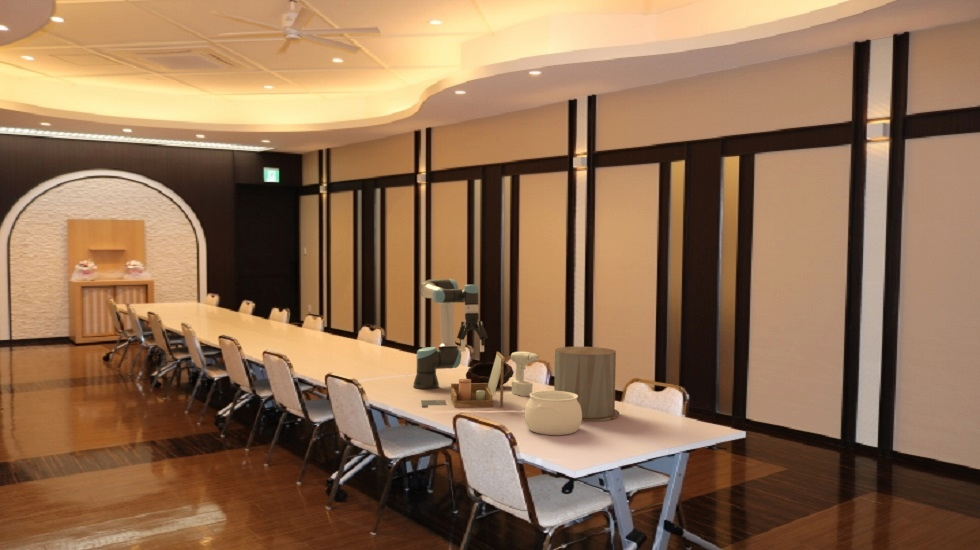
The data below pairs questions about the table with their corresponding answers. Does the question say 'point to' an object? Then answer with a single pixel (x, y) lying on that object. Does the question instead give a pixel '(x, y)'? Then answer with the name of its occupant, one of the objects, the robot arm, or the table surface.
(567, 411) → the pot
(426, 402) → the slate tile
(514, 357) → the power drill
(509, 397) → the table surface
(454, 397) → the cold frame
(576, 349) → the storage basket
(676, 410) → the table surface
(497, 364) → the lid
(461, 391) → the terracotta pot
